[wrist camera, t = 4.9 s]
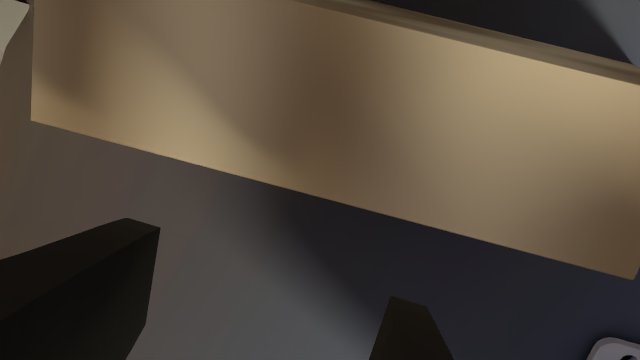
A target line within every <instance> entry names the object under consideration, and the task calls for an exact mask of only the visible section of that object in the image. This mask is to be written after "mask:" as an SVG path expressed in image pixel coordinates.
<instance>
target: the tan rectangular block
mask: <svg viewBox="0 0 640 360" xmlns="http://www.w3.org/2000/svg"><path fill="white" fill-rule="evenodd" d="M31 120H32V121H35V122H39V123H43V124H47V125H50V126H54V127H58V128H62V129H65V130H69V131H73V132H77V133H80V134H84V135H88V136H92V137H96V138H99V139H103V140H107V141H111V142H114V143H118V144H122V145H126V146H129V147H133V148H137V149H141V150H144V151H148V152H152V153H156V154H159V155H163V156H167V157H171V158H175V159H178V160H182V161H186V162H190V163H193V164H197V165H201V166H205V167H208V168H212V169H216V170H220V171H223V172H227V173H231V174H235V175H238V176H242V177H246V178H250V179H254V180H257V181H261V182H265V183H269V184H272V185H276V186H280V187H284V188H287V189H291V190H295V191H299V192H302V193H306V194H310V195H314V196H317V197H321V198H325V199H329V200H333V201H336V202H340V203H344V204H348V205H351V206H355V207H359V208H363V209H366V210H370V211H374V212H378V213H381V214H385V215H389V216H393V217H396V218H400V219H404V220H408V221H412V222H415V223H419V224H423V225H427V226H430V227H434V228H438V229H442V230H445V231H449V232H453V233H457V234H460V235H464V236H468V237H472V238H475V239H479V240H483V241H487V242H491V243H494V244H498V245H502V246H506V247H509V248H513V249H517V250H521V251H524V252H528V253H532V254H536V255H539V256H543V257H547V258H551V259H555V260H558V261H562V262H566V263H570V264H573V265H577V266H581V267H585V268H588V269H592V270H596V271H600V272H603V273H607V274H611V275H615V276H618V277H622V278H626V279H630V280H634V278H635V276H636V274H637V272H638V270H639V268H640V68H639V67H637V66H635V65H633V64H629V63H625V62H620V61H616V60H612V59H608V58H604V57H600V56H596V55H592V54H588V53H583V52H579V51H575V50H571V49H567V48H563V47H559V46H555V45H551V44H546V43H542V42H538V41H534V40H530V39H526V38H522V37H518V36H514V35H509V34H505V33H501V32H497V31H493V30H489V29H485V28H481V27H477V26H472V25H468V24H464V23H460V22H456V21H452V20H448V19H444V18H439V17H435V16H431V15H427V14H423V13H419V12H415V11H411V10H407V9H402V8H398V7H394V6H390V5H386V4H382V3H378V2H374V1H370V0H34V29H33V64H32V98H31Z"/></svg>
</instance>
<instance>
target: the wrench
mask: <svg viewBox="0 0 640 360" xmlns="http://www.w3.org/2000/svg"><path fill="white" fill-rule="evenodd" d="M28 10H29V4H26V3H22V2H19V1H15V0H0V65H1V61H2V58H3V55H4V51H5V48H6V46H7V44H8V43H9V41H10V39H11V38H12V36H13V35H14V33H15V31H16V30H17V28H18V26H19V25H20V23H21V22H22V20H23V18H24V17H25V15H26V13H27V12H28Z"/></svg>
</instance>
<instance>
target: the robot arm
mask: <svg viewBox="0 0 640 360" xmlns="http://www.w3.org/2000/svg"><path fill="white" fill-rule="evenodd" d="M159 234H160V227H156V226H153V225H150V224H146V223H143V222H139V221H136V220H133V219H129V218H124V219H120V220H117V221H113V222H110V223H107V224H104V225H101V226H98V227H95V228H93V229H90V230H87V231H84V232H81V233H78V234H76V235H73V236H70V237H67V238H64V239H61V240H59V241H56V242H53V243H50V244H47V245H44V246H41V247H38V248H36V249H33V250H30V251H27V252H24V253H21V254H18V255H15V256H11V257H8V258H5V259H2V260H0V360H126V358H127V356H128V354H129V353H130V351H131V349H132V348H133V346H134V344H135V342H136V340H137V339H138V337H139V335H140V333H141V332H142V330H143V328H144V326H145V324H146V317H147V311H148V304H149V298H150V292H151V285H152V279H153V272H154V266H155V259H156V253H157V247H158V240H159ZM626 355H633V357H632V358H631V359H630V360H640V345H639V344H635V343H632V342H628V341H625V340H621V339H618V338H612V337H608V338H603V339H601V340H599V341H597V342H596V344H595V345H594V346H593V348H592V350H591V352H590V354H589V356H588V358H587V360H620V359H621V358H622V357H623V356H626ZM369 360H454V359H453V357H452V355H451V353H450V351H449V349H448V347H447V345H446V343H445V341H444V339H443V337H442V335H441V333H440V331H439V329H438V328H437V326H436V324H435V322H434V320H433V318H432V316H431V314H430V312H429V310H428V308H427V307H426V306H423V305H419V304H416V303H412V302H409V301H406V300H402V299H399V298H396V297H392V296H391V298H390V301H389V304H388V306H387V309H386V312H385V315H384V318H383V321H382V324H381V326H380V329H379V332H378V335H377V338H376V341H375V344H374V347H373V349H372V352H371V355H370V358H369Z"/></svg>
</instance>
